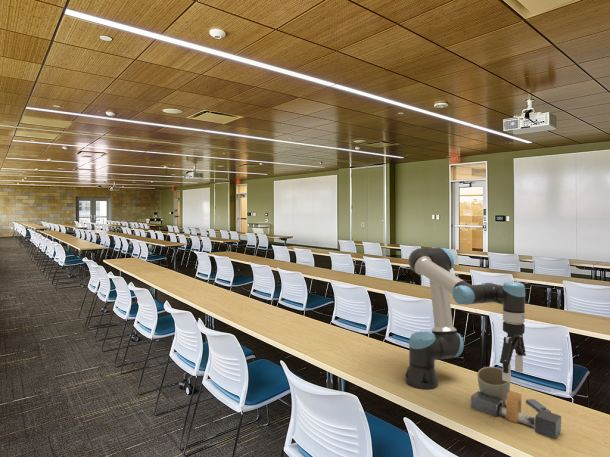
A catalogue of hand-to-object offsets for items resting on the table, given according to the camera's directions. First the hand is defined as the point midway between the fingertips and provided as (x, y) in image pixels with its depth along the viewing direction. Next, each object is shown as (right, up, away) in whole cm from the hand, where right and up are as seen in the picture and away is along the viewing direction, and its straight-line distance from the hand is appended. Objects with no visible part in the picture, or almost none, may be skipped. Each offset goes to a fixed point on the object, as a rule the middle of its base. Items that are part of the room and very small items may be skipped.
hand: (512, 376), depth 150 cm
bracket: (+16, -18, +9) cm, 25 cm away
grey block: (-7, -17, +8) cm, 20 cm away
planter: (0, -15, +15) cm, 21 cm away
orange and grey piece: (-1, -17, +2) cm, 17 cm away
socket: (+8, -17, -9) cm, 21 cm away
